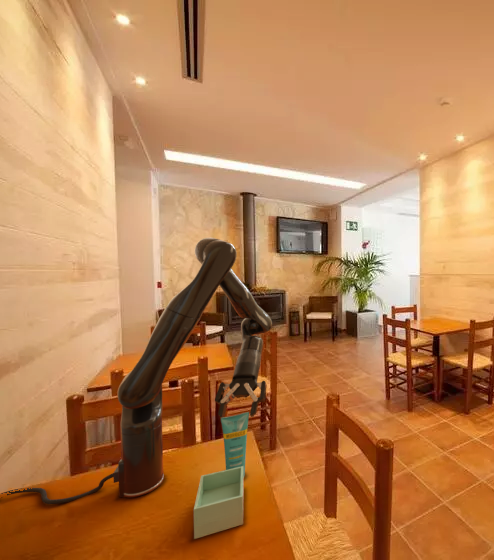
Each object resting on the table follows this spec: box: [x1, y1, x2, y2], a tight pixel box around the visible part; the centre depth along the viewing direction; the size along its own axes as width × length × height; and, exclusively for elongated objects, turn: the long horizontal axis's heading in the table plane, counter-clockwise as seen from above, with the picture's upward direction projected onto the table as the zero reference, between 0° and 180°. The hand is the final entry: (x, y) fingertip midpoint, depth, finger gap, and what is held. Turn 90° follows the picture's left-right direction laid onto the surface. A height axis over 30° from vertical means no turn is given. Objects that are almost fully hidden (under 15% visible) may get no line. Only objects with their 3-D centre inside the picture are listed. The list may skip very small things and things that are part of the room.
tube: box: [220, 411, 250, 479], centre depth 88 cm, size 7×5×19 cm, turn 123°
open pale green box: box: [193, 466, 245, 540], centre depth 76 cm, size 10×12×7 cm
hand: (236, 416), depth 89 cm, fingers open, 8 cm apart
